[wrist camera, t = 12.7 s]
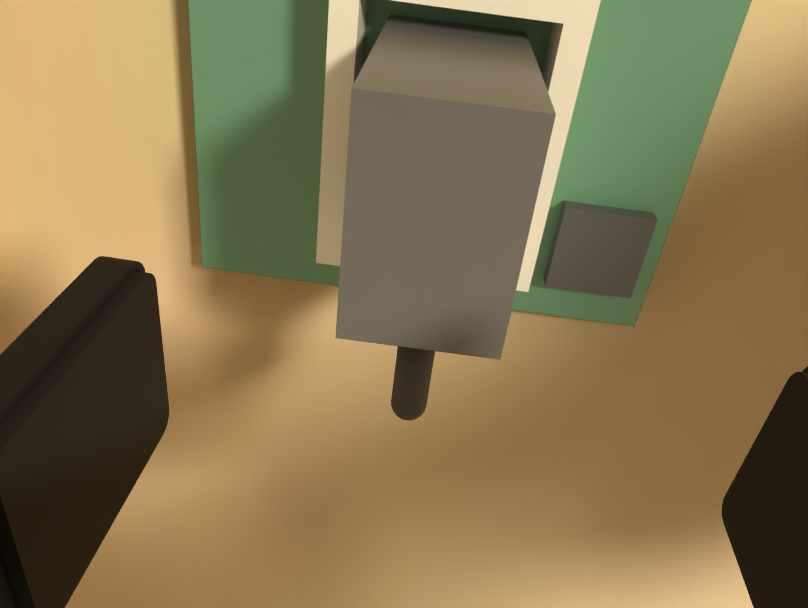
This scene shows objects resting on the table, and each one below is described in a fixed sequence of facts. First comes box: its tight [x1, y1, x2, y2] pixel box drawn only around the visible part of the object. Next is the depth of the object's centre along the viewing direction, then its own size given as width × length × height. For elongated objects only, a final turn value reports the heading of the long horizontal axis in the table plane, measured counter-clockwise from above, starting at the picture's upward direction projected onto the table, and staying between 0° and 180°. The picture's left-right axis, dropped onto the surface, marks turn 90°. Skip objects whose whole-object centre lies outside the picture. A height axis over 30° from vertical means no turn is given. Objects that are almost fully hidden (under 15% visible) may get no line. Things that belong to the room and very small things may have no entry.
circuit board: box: [188, 0, 752, 327], centre depth 21 cm, size 16×13×3 cm
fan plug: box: [336, 15, 556, 420], centre depth 19 cm, size 4×10×8 cm, turn 174°
